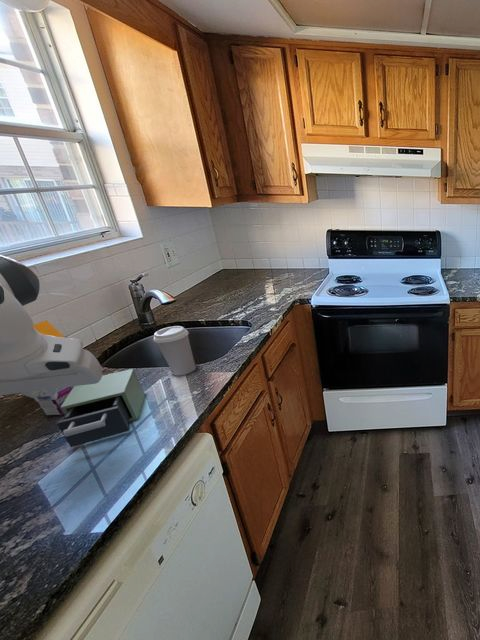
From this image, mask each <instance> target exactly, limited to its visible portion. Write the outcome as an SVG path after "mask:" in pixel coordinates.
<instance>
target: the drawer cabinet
mask: <svg viewBox="0 0 480 640" xmlns="http://www.w3.org/2000/svg"><path fill="white" fill-rule="evenodd" d="M121 395H122V397H123V399H124V401H125V403H126V405H127V407H128V409H129V411H130V413H131V416H130V419H129V422H128V423H130V422H135V421H138V419H139V416H140V413H141V409H142V406H143V403H144V399H145V396H146V393H145V391H144V389H143V387H142V384H141V383H140V380H139V377H138V375H137V374H136V371H135V369H134V368H130V369H127V370H122V371H118V372H113V373H108V374H102V378H101V380H100V381H99V382H98V383H96V384H89V385H80V386H74V387H73V389H72V390H71V392H70V393H69V395H68V396H67V398H66V399H65V401H64V403H63V404H62V406H61V407H60V408H61V409H62V411H63V413H64V414H63V415H64V417H65V416H66V414H67V412H68V411H69V409H70V408H72V407H76V406H80V405H84V404H88V403H92V402H96V401H100V400H104V399H108V398H112V397H116V396H121Z"/></svg>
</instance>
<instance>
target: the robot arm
mask: <svg viewBox="0 0 480 640" xmlns="http://www.w3.org/2000/svg"><path fill="white" fill-rule="evenodd" d="M40 284H41V283H40V280H39V277H38V276H37V274H36V273H35V272H34V271H33V270H32V269H31V268H29V267H28V266H27V265H25V264H23V262H20V261H18V260H17V259H13V258H10V257H8V256H6V255H2V254H0V396H8V395H17V394H21V395H22V396H26V397H28V398H31V399H34V401H35V402H36V403H38V402H41V401H48V400H56V399H57V396H58V393H57V392H56V391H57V388H64V387H72V386H80V385H89V384H96V383H98V382H99V381H100V380H101V378H102V376H103V367H102V364H100V362H99V360H98V359H97V357H95V355H94V354H93V353H92V352H91V351H89V350H88V349H84V344H83V341H82V340H81V339H79V338H74V337H73V338H71V337H65V338H62V337H54V336H47V335H42V334H40V333H39V332H38V331H37V330H35V329H34V321H33V319H32V317H31V316H30V314H29V313H28V311H27V309H25V307H24V306H26V305H28V304H30V303H33V302H35V301H37V299H38V297H39V294H40V287H41V285H40ZM40 390H41V391H40Z"/></svg>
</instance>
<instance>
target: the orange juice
mask: <svg viewBox="0 0 480 640" xmlns="http://www.w3.org/2000/svg"><path fill="white" fill-rule="evenodd" d="M33 325H34V329H35V330H37V331H38V332H39V333H40V334H42V335H47V336H54V337H62V338H66V337H65V336H64V335H63V334H62V333H61V332H60V331H59V330H58V329H56V327H54V325H52V324H51V323H50V322H49V321H48V320H43V321H40V322H37V323H33Z"/></svg>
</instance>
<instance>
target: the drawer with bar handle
mask: <svg viewBox="0 0 480 640" xmlns="http://www.w3.org/2000/svg"><path fill="white" fill-rule="evenodd" d="M130 416H131V413H130V411H129V409H128V407H127V405H126V403H125V401H124V399H123V397H122V395H121V396H116V397H112V398H108V399H104V400H100V401H96V402H92V403H88V404H84V405H80V406H76V407H72V408H70V409H69V411H68V412H67V414H66V416H65V415H64V417H63V418H64V419H61V420H58V421H57V422H56V426H57V427H58V428H59V430H60V432H61V433H62V435H63V437H64V438H65V440H66V442H67V444H68V445H69V447H70V448H73V447H77V446H80V445H85V444H87V443H88V444H89V443H91V442H95V441H98V440H103V439H106V438H110V437H114V436H116V435H119V434H124V433H127V432H130V429H131V428H130V426H129V423H130V422H129V419H130Z"/></svg>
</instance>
